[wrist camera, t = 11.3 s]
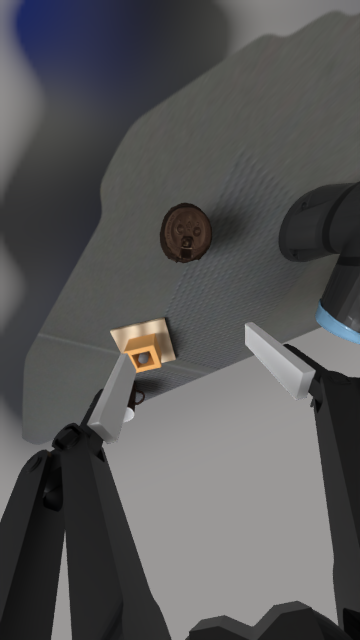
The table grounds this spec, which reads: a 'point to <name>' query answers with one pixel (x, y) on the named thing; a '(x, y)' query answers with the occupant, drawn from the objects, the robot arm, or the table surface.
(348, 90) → the table surface
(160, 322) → the keeper post
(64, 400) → the table surface
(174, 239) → the coffee cup
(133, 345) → the orange hollow block
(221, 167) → the table surface
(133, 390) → the coffee mug
